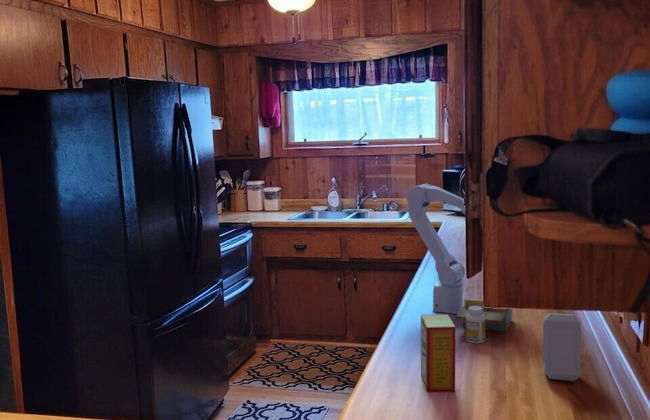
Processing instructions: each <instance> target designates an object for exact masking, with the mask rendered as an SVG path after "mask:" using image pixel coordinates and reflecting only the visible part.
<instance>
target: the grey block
mask: <svg viewBox="0 0 650 420" xmlns="http://www.w3.org/2000/svg"><path fill="white" fill-rule="evenodd" d="M542 322H543V328H542V329H543V331H542V332H543V333H542V335H543V338H542V339H543V340H542V345H543V346H542V369H543V371H544V374H545V375H546V376H547V377H548V378H549V379H551V380H561V381H572V382H575V381H576V380H577V379H579V378H580V377H581V375H582V373H581V361H582V360H581V358H582V357H581V355H582V354H581V352H582V351H581V349H582V346H581V345H582V342H581V341H582V339H581V338H582V335H581V333H582V330H581V329H582V327H581V326H582V324H581V323H582V322H581V321H580V320H579V319H578V317H576V315H574V314H570V313H567V314H566V313H555V312H554V313H553V312H549V313H547V314H546V315H545V316H544V317H543V321H542Z"/></svg>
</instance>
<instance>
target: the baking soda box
mask: <svg viewBox="0 0 650 420" xmlns="http://www.w3.org/2000/svg"><path fill="white" fill-rule="evenodd" d="M420 376H421V379H422V382H423V386H424V388H425V391H426V393H455V392H456V325H455V324H454V322H453V320H452V319H451V318H450V316H449V313H444V314H443V313H442V314H441V313H440V314H439V313H438V314H437V313H435V314H421V315H420Z"/></svg>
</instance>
